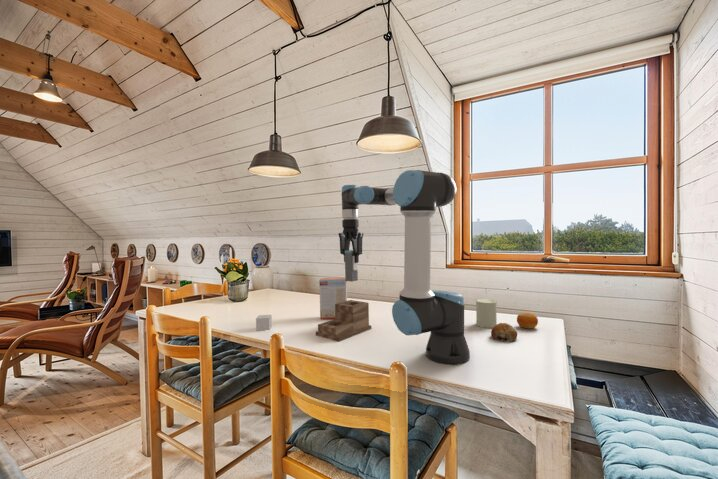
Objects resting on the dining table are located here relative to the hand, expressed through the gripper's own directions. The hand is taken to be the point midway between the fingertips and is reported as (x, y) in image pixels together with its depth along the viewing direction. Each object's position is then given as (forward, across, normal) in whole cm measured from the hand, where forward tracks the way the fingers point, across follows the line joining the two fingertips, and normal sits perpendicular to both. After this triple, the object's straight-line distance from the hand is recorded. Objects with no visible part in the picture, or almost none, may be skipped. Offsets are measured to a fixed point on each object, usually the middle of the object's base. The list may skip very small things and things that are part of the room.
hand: (351, 269), depth 151 cm
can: (+28, -47, -43) cm, 69 cm away
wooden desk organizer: (+28, 0, +5) cm, 28 cm away
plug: (+5, 0, 0) cm, 5 cm away
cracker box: (+28, +21, -10) cm, 36 cm away
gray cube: (+28, +34, +24) cm, 50 cm away
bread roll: (+28, -59, -28) cm, 71 cm away
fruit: (+28, -63, -50) cm, 85 cm away
